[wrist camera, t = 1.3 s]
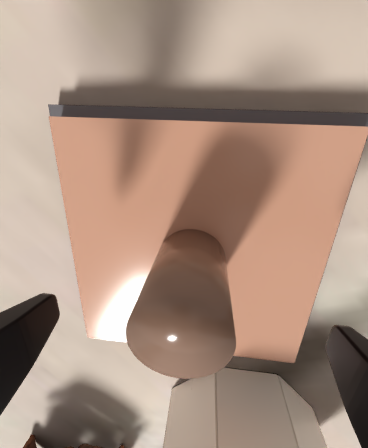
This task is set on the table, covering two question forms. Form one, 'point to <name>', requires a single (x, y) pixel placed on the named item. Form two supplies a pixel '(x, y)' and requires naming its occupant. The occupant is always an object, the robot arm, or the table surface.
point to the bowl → (240, 413)
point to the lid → (202, 232)
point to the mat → (213, 117)
